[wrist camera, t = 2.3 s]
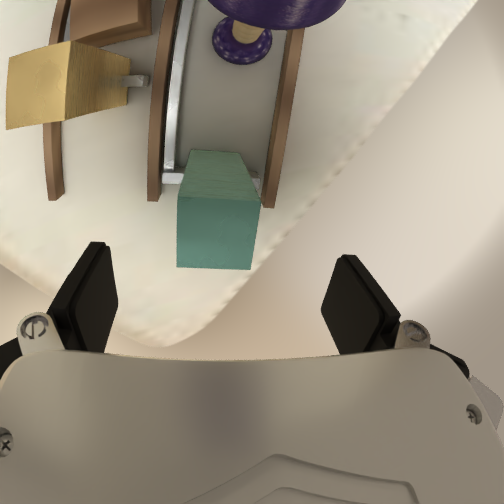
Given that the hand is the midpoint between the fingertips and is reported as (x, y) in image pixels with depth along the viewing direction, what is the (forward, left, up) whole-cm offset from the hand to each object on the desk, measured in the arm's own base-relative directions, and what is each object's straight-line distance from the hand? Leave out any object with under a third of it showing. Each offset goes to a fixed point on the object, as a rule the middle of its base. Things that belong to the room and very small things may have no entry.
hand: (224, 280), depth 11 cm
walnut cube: (-13, -9, -13) cm, 20 cm away
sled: (-12, -9, -12) cm, 20 cm away
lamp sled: (-8, 0, -12) cm, 15 cm away
